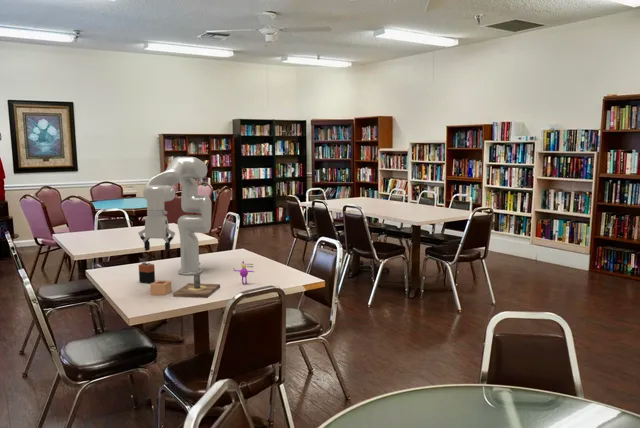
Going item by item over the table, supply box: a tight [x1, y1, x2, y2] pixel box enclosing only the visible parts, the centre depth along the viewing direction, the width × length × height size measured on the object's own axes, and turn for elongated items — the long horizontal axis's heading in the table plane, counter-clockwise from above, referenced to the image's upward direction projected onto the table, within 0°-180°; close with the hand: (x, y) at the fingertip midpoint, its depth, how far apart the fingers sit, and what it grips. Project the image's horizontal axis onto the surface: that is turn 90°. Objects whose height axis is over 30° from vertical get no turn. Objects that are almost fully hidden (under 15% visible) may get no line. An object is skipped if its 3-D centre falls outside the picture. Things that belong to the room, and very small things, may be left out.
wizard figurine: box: [232, 260, 255, 285], centre depth 248 cm, size 11×3×12 cm, turn 77°
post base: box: [172, 273, 221, 299], centre depth 235 cm, size 18×16×9 cm
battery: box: [138, 261, 156, 285], centre depth 253 cm, size 4×7×10 cm, turn 66°
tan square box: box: [149, 279, 173, 296], centre depth 233 cm, size 7×7×5 cm
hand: (157, 250), depth 230 cm, fingers open, 9 cm apart
